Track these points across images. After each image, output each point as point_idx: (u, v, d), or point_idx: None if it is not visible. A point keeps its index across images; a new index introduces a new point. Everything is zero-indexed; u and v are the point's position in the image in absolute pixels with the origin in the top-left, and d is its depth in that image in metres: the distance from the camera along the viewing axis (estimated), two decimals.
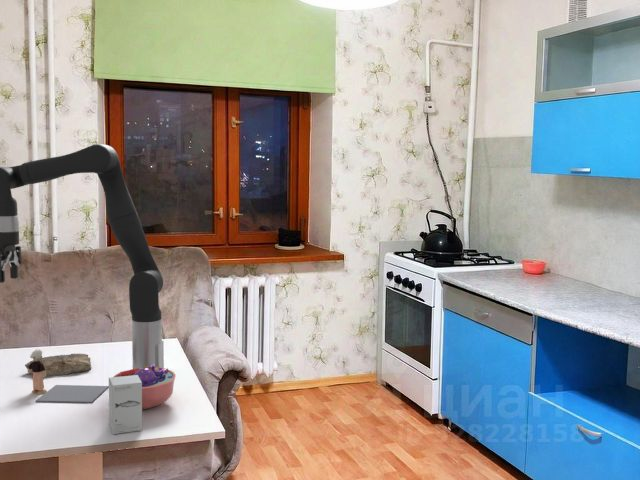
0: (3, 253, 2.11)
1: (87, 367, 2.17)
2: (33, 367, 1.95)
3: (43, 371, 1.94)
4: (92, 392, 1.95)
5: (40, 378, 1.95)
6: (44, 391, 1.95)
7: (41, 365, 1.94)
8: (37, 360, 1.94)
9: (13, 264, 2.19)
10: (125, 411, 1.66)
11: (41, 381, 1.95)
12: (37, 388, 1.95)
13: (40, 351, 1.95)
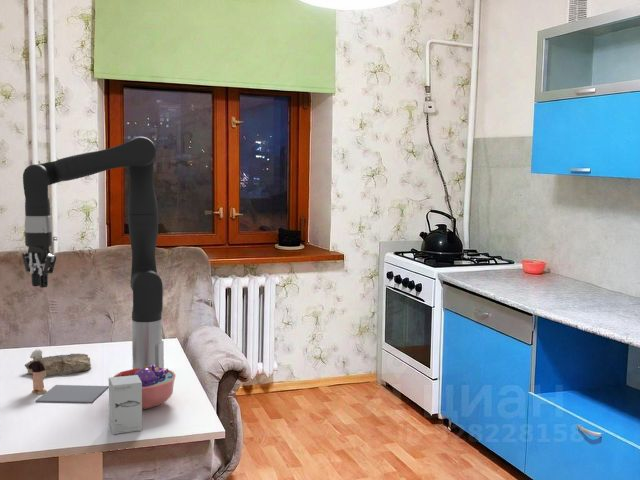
0: (29, 254, 2.06)
1: (87, 367, 2.17)
2: (33, 367, 1.95)
3: (43, 371, 1.94)
4: (92, 392, 1.95)
5: (40, 378, 1.95)
6: (44, 391, 1.95)
7: (41, 365, 1.94)
8: (37, 360, 1.94)
9: None
10: (125, 411, 1.66)
11: (41, 381, 1.95)
12: (37, 388, 1.95)
13: (40, 351, 1.95)
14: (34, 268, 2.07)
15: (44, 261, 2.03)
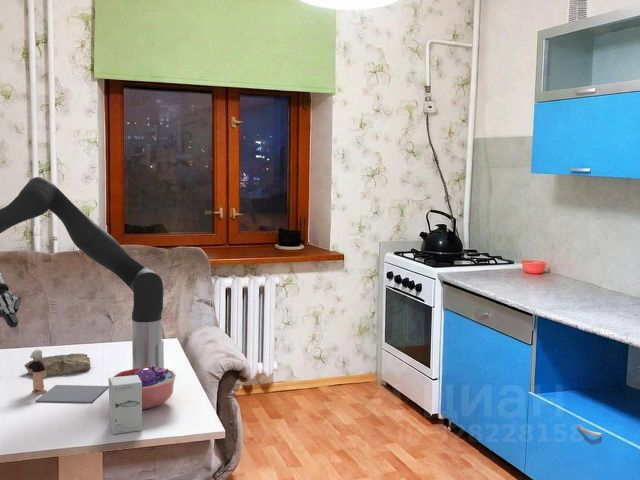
0: None
1: (87, 367, 2.17)
2: (33, 367, 1.95)
3: (43, 371, 1.94)
4: (92, 392, 1.95)
5: (40, 378, 1.95)
6: (44, 391, 1.95)
7: (41, 365, 1.94)
8: (37, 360, 1.94)
9: None
10: (125, 411, 1.66)
11: (41, 381, 1.95)
12: (37, 388, 1.95)
13: (40, 351, 1.95)
14: None
15: None
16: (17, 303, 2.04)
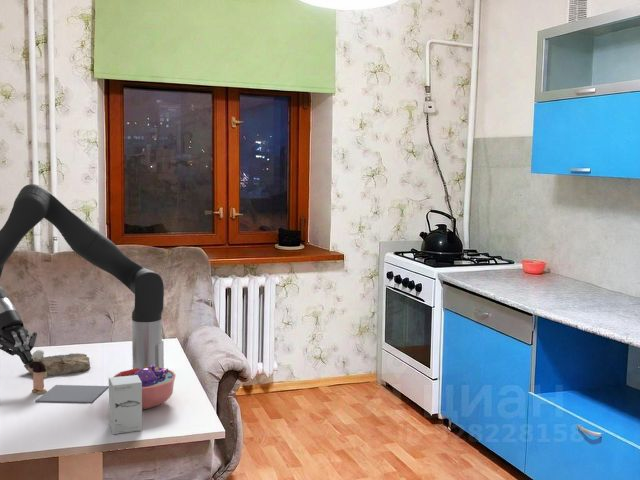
0: None
1: (86, 367, 2.17)
2: (34, 367, 1.94)
3: (44, 372, 1.93)
4: (92, 392, 1.95)
5: (41, 378, 1.94)
6: (44, 391, 1.95)
7: (42, 366, 1.93)
8: (38, 361, 1.94)
9: None
10: (125, 411, 1.66)
11: (42, 381, 1.94)
12: (37, 388, 1.95)
13: (42, 352, 1.94)
14: None
15: (11, 343, 1.97)
16: (32, 339, 2.01)
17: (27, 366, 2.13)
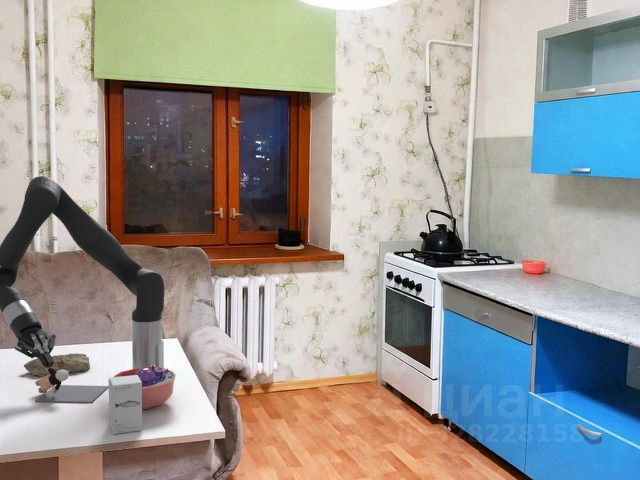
0: None
1: (86, 367, 2.18)
2: (51, 379, 1.90)
3: (56, 390, 1.91)
4: (92, 392, 1.95)
5: (50, 387, 1.92)
6: (45, 391, 1.95)
7: (58, 385, 1.91)
8: (59, 379, 1.90)
9: None
10: (125, 411, 1.66)
11: (49, 388, 1.93)
12: (41, 388, 1.94)
13: (67, 377, 1.89)
14: None
15: (30, 346, 1.92)
16: (51, 342, 1.96)
17: (27, 366, 2.13)
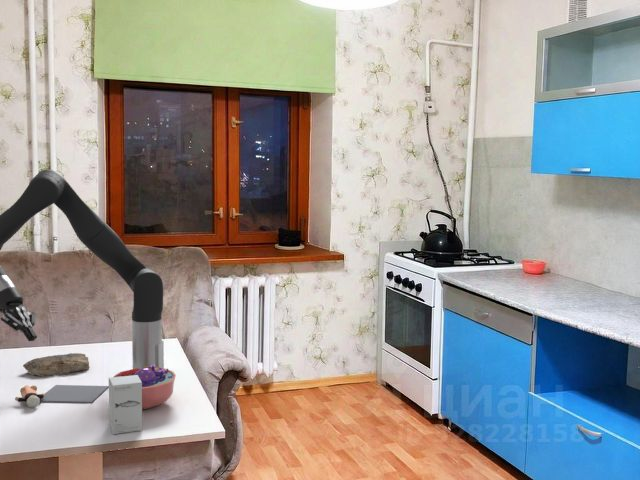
0: None
1: (85, 366, 2.18)
2: None
3: (43, 396, 1.89)
4: (92, 392, 1.95)
5: None
6: (36, 389, 1.93)
7: (40, 398, 1.87)
8: None
9: None
10: (125, 411, 1.66)
11: (36, 394, 1.91)
12: None
13: (38, 400, 1.83)
14: None
15: None
16: (32, 318, 2.03)
17: (26, 366, 2.13)
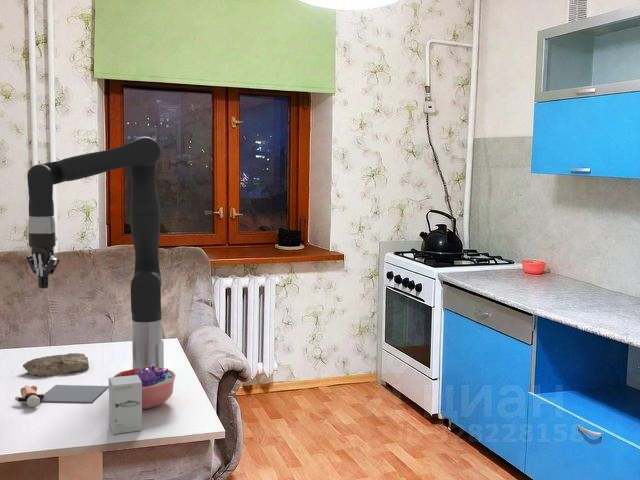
0: (33, 255, 2.03)
1: (85, 366, 2.18)
2: None
3: None
4: (92, 392, 1.95)
5: None
6: (36, 389, 1.93)
7: (40, 398, 1.87)
8: None
9: None
10: (125, 411, 1.66)
11: (36, 394, 1.91)
12: None
13: (38, 400, 1.83)
14: None
15: None
16: None
17: (26, 366, 2.13)
